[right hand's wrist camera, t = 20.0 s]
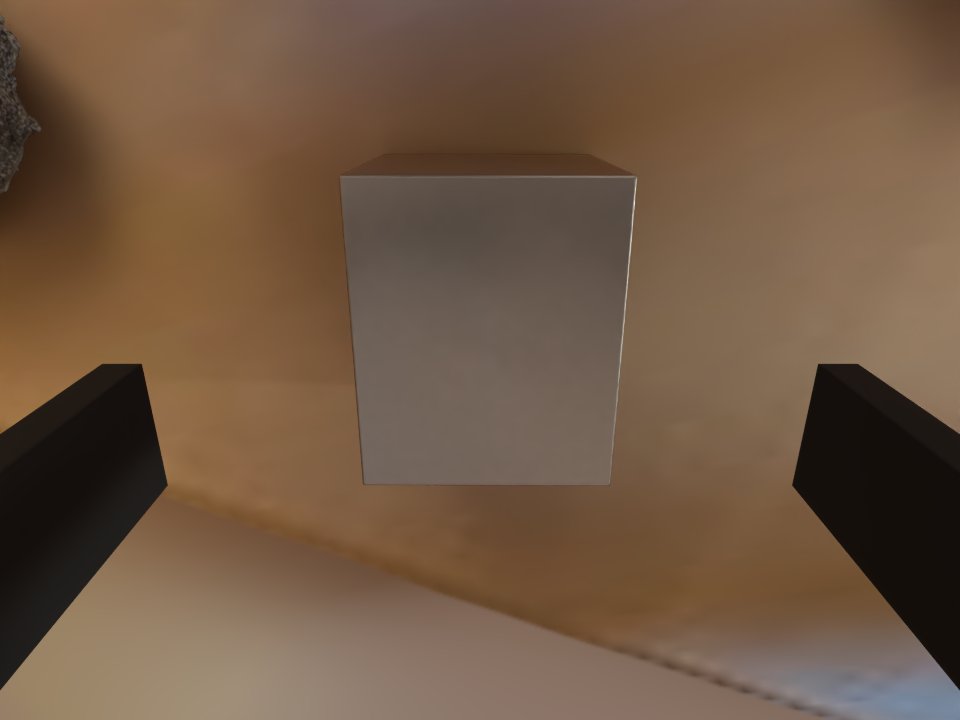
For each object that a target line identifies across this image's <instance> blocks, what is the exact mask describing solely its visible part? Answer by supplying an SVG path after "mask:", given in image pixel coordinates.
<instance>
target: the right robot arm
mask: <svg viewBox="0 0 960 720" xmlns="http://www.w3.org/2000/svg"><path fill="white" fill-rule="evenodd" d="M167 486H168V484H167V479H166V475H165V470H164V465H163V461H162V456H161V451H160V447H159V442H158V437H157V433H156V428H155V423H154V419H153V414H152V409H151V405H150V400H149V395H148V391H147V386H146V382H145V377H144V372H143V368H142V364H101V365H100V366H99V367H97V368H96V369H94V370H93V371H91V372H90V373H88V374H87V375H86V376H84V377H83V378H81V379H80V380H78V381H77V382H75V383H74V384H72V385H71V386H70V387H68V388H67V389H65V390H64V391H62V392H61V393H59V394H58V395H57V396H55V397H54V398H52V399H51V400H49V401H48V402H46V403H45V404H43V405H42V406H41V407H39V408H38V409H36V410H35V411H33V412H32V413H30V414H29V415H28V416H26V417H25V418H23V419H22V420H20V421H19V422H17V423H16V424H14V425H13V426H12V427H10V428H9V429H7V430H6V431H4V432H3V433H1V434H0V690H1V689H2V687H3V686H4V685H5V684H6V683H7V681H8V680H9V679H10V678H11V676H12V675H13V674H14V673H15V672H16V670H17V669H18V668H19V667H20V665H21V664H22V663H23V662H24V661H25V659H26V658H27V657H28V656H29V654H30V653H31V652H32V651H33V649H34V648H35V647H36V646H37V645H38V643H39V642H40V641H41V640H42V638H43V637H44V636H45V635H46V634H47V632H48V631H49V630H50V629H51V628H52V626H53V625H54V624H55V623H56V621H57V620H58V619H59V618H60V617H61V615H62V614H63V613H64V612H65V610H66V609H67V608H68V607H69V605H70V604H71V603H72V602H73V601H74V599H75V598H76V597H77V596H78V594H79V593H80V592H81V591H82V589H83V588H84V587H85V586H86V585H87V583H88V582H89V581H90V580H91V579H92V577H93V576H94V575H95V574H96V572H97V571H98V570H99V569H100V568H101V566H102V565H103V564H104V563H105V561H106V560H107V559H108V558H109V557H110V555H111V554H112V553H113V552H114V550H115V549H116V548H117V547H118V546H119V544H120V543H121V542H122V541H123V539H124V538H125V537H126V536H127V535H128V533H129V532H130V531H131V530H132V528H133V527H134V526H135V525H136V523H137V522H138V521H139V520H140V519H141V517H142V516H143V515H144V514H145V513H146V511H147V510H148V509H149V508H150V506H151V505H152V504H153V503H154V502H155V500H156V499H157V498H158V497H159V495H160V494H161V493H162V492H163V491H164V489H165V488H166V487H167ZM792 486H793V487H794V488H795V489H796V491H797V492H798V493H799V494H800V495H801V497H802V498H803V499H804V500H805V502H806V503H807V504H808V505H809V506H810V508H811V509H812V510H813V511H814V513H815V514H816V515H817V516H818V517H819V519H820V520H821V521H822V522H823V524H824V525H825V526H826V527H827V528H828V530H829V531H830V532H831V533H832V535H833V536H834V537H835V538H836V539H837V541H838V542H839V543H840V544H841V546H842V547H843V548H844V549H845V550H846V552H847V553H848V554H849V555H850V557H851V558H852V559H853V560H854V561H855V563H856V564H857V565H858V566H859V568H860V569H861V570H862V571H863V572H864V574H865V575H866V576H867V577H868V579H869V580H870V581H871V582H872V583H873V585H874V586H875V587H876V588H877V590H878V591H879V592H880V593H881V594H882V596H883V597H884V598H885V599H886V601H887V602H888V603H889V604H890V605H891V607H892V608H893V609H894V610H895V612H896V613H897V614H898V615H899V617H900V618H901V619H902V620H903V621H904V623H905V624H906V625H907V626H908V628H909V629H910V630H911V631H912V632H913V634H914V635H915V636H916V637H917V639H918V640H919V641H920V642H921V643H922V645H923V646H924V647H925V648H926V650H927V651H928V652H929V653H930V654H931V656H932V657H933V658H934V659H935V661H936V662H937V663H938V664H939V665H940V667H941V668H942V669H943V670H944V672H945V673H946V674H947V675H948V676H949V678H950V679H951V680H952V681H953V683H954V684H955V685H956V686H957V687H958V689H959V690H960V434H959V433H957V432H956V431H954V430H953V429H951V428H950V427H948V426H947V425H946V424H944V423H943V422H941V421H940V420H938V419H937V418H935V417H934V416H932V415H931V414H930V413H928V412H927V411H925V410H924V409H922V408H921V407H919V406H918V405H917V404H915V403H914V402H912V401H911V400H909V399H908V398H906V397H905V396H903V395H902V394H901V393H899V392H898V391H896V390H895V389H893V388H892V387H890V386H889V385H888V384H886V383H885V382H883V381H882V380H880V379H879V378H877V377H876V376H874V375H873V374H872V373H870V372H869V371H867V370H866V369H864V368H863V367H861V366H860V365H859V364H818V367H817V372H816V377H815V381H814V386H813V391H812V395H811V400H810V405H809V409H808V414H807V419H806V423H805V428H804V433H803V437H802V442H801V447H800V451H799V456H798V461H797V465H796V470H795V475H794V479H793V484H792Z"/></svg>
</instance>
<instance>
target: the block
mask: <svg viewBox="0 0 960 720" xmlns="http://www.w3.org/2000/svg"><path fill="white" fill-rule="evenodd" d="M339 185H340V198H341V211H342V223H343V236H344V249H345V261H346V274H347V287H348V299H349V312H350V325H351V338H352V350H353V363H354V376H355V388H356V401H357V414H358V426H359V439H360V452H361V465H362V477H363V484H364V485H538V486H609V485H610V480H611V469H612V458H613V447H614V435H615V424H616V413H617V401H618V390H619V379H620V367H621V356H622V345H623V334H624V322H625V311H626V300H627V288H628V277H629V266H630V254H631V243H632V232H633V221H634V209H635V198H636V187H637V176H636V175H634V174H631V173H629V172H627V171H625V170H623V169H620V168H618V167H616V166H614V165H612V164H609V163H607V162H605V161H603V160H601V159H598V158H596V157H594V156H592V155H408V154H384V155H382V156H380V157H378V158H375V159H373V160H371V161H369V162H367V163H365V164H363V165H361V166H359V167H357V168H354V169H352V170H350V171H348V172H346V173H344V174H342V175H340V176H339Z"/></svg>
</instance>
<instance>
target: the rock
mask: <svg viewBox="0 0 960 720" xmlns="http://www.w3.org/2000/svg"><path fill="white" fill-rule="evenodd" d="M3 24H4V17H2V16H1V15H0V194H2V193H3V192H6V191H7V189H8V187H9V185H11V184H10V182H11V181H10V180H11V178H12V177H13V175H14V174H15V173H16V171H18V172H19V170H18V165H19V163H20V161H22V157H23V154H24V142H25V139H26V140H27V138H28V137H29V136H30V135H32V134H34V133H38V132H40V130H41V127H40V124H39V123H38V122H36V119H35V118H34V117H33V116H30V115H29V114H27V113H26V111H25V109H24V107H23V105H22V103H21V101H20V98H19V96H18V94H16V93H17V91H16V86H17V83H15V82H14V81H15V80H16V78H15V77H14V76H13V75H12V73H11V72H12V71H14V70H15V67H16V65H17V64H16V57H18V56H19V53H18V52H19V50H20V47H21V45H20V44H19V43H18V42H17V39H16V37H14V35H13V34H12V33H11V32H9V31H8V30H6V29H5V27H4V25H3Z"/></svg>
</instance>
